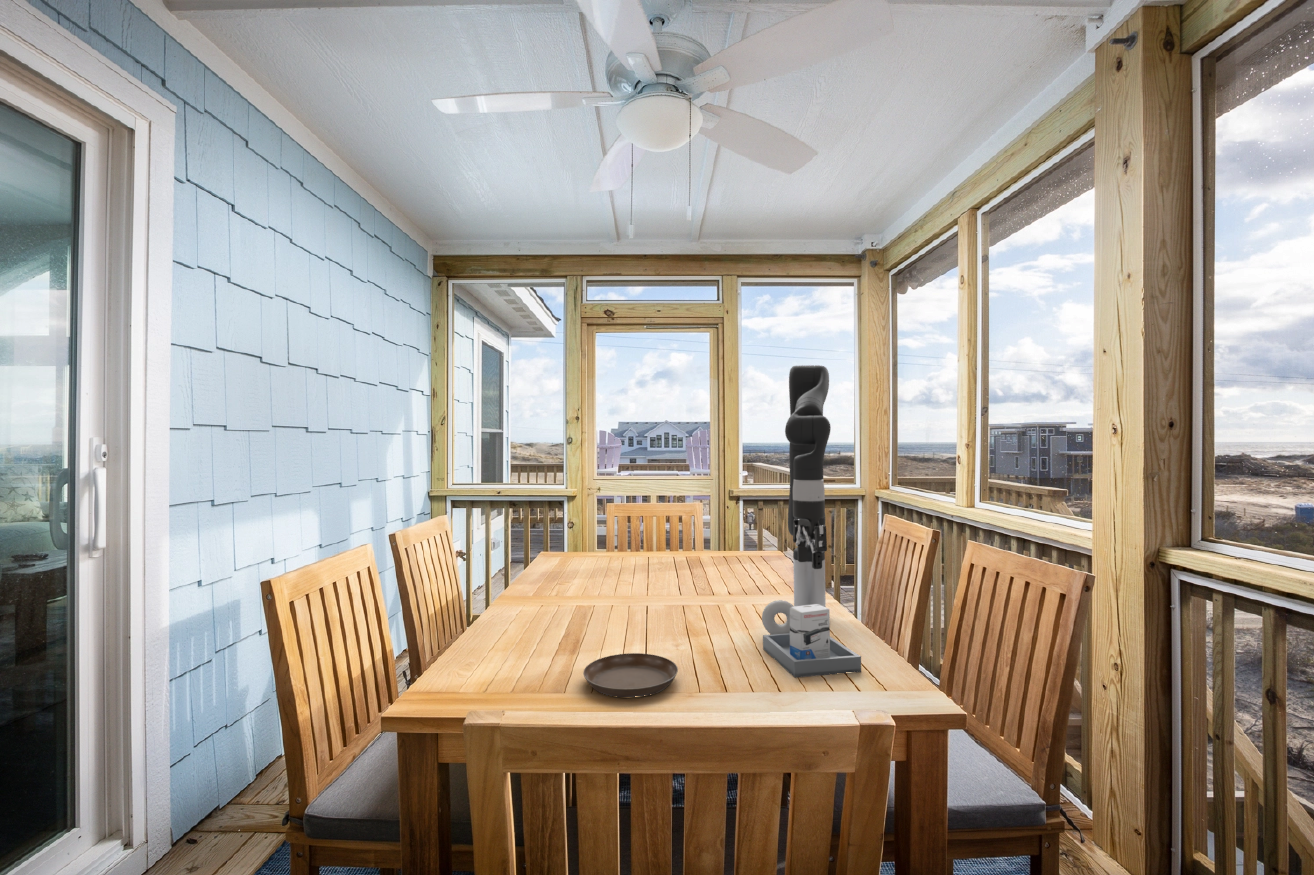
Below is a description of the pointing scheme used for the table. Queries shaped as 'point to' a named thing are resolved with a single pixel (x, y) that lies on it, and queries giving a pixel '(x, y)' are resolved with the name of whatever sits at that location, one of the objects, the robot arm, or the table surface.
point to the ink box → (809, 632)
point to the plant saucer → (630, 674)
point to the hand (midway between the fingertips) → (809, 565)
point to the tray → (836, 663)
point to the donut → (770, 613)
